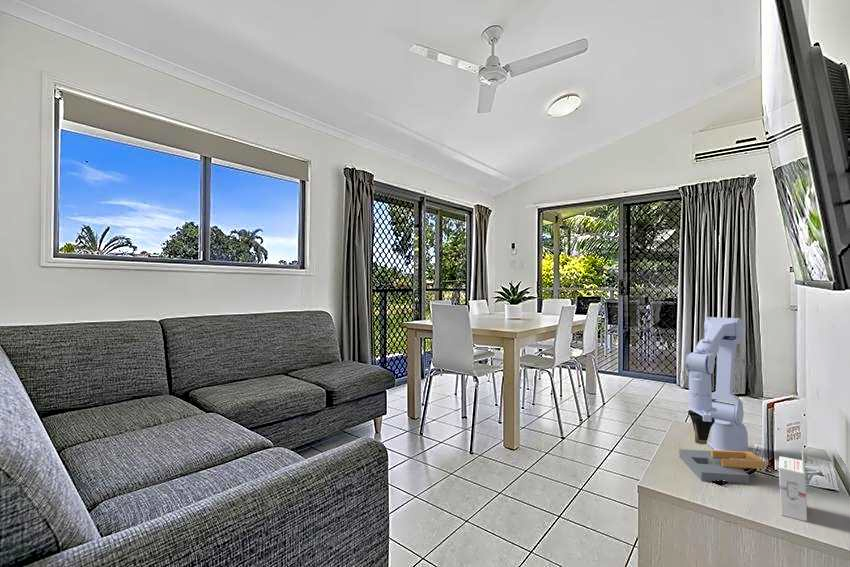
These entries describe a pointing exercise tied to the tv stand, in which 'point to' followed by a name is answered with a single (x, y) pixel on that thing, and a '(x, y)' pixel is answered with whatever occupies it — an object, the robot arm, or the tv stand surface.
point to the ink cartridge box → (793, 488)
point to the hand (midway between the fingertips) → (701, 437)
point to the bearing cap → (738, 459)
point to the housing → (712, 467)
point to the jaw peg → (698, 438)
